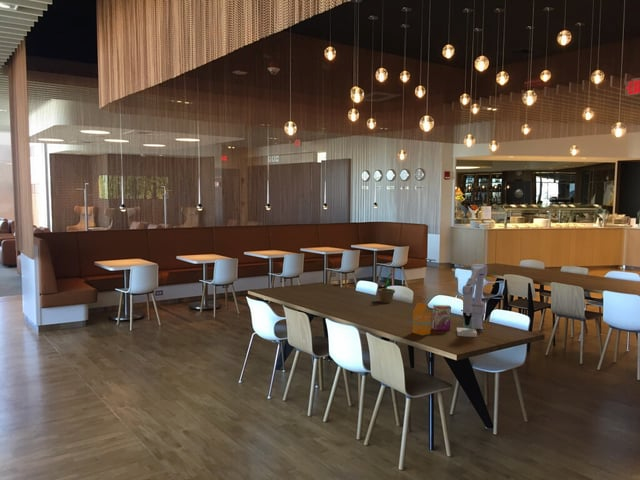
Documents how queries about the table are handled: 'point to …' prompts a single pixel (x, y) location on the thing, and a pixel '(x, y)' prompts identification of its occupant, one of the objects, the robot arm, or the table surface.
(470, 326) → the teal cube
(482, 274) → the robot arm
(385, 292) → the flowerpot
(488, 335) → the table surface
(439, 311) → the candy bar box
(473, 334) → the grey plinth
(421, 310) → the orange juice
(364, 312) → the table surface
